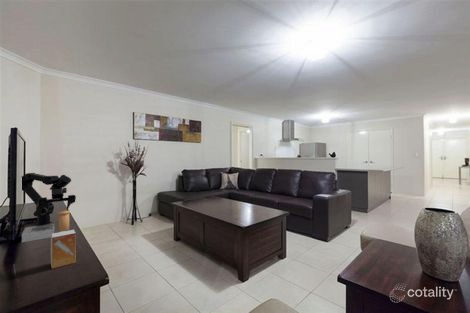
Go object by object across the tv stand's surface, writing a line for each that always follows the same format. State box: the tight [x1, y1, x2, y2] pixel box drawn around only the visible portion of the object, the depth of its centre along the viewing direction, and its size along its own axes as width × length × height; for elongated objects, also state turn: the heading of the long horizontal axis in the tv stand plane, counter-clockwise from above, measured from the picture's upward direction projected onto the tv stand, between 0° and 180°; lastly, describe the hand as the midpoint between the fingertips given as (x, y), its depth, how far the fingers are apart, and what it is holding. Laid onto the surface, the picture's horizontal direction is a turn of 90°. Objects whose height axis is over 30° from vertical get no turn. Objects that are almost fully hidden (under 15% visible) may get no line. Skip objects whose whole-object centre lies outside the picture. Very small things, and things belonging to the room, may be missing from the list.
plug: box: [57, 210, 71, 232], centre depth 131 cm, size 6×6×13 cm
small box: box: [50, 229, 77, 270], centre depth 94 cm, size 8×6×13 cm
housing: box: [21, 223, 55, 243], centre depth 126 cm, size 13×13×4 cm
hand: (58, 211), depth 138 cm, fingers open, 9 cm apart
